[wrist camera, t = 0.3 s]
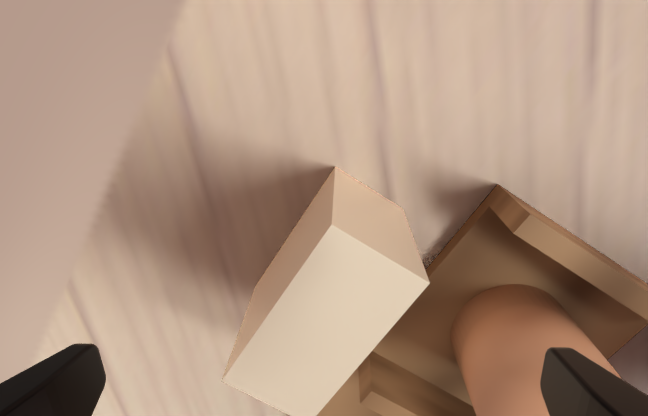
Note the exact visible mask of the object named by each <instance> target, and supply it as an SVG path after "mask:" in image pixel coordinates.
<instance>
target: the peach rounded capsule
mask: <svg viewBox="0 0 648 416" xmlns="http://www.w3.org/2000/svg"><path fill="white" fill-rule="evenodd" d="M450 341H451V346H452V349H453V352H454V355H455V357H456V360H457V363H458V366H459V369H460V371H461V374H462V377H463V380H464V383H465V385H466V388H467V391H468V394H469V397H470V399H471V402H472V405H473V408H474V411H475V413H476V416H550V415H549V413H548V410H547V407H546V404H545V401H544V398H543V396H542V392H541V387H540V380H541V374H542V369H543V363H544V358H545V354H546V351H547V349H549V348H551V347H569V348H572V349H574V350H576V351H578V352H579V353H581V354H582V355H584V356H586V357H587V358H589V359H590V360H592V361H593V362H595V363H597V364H598V365H600V366H601V367H603V368H605V369H606V370H608V371H609V372H611V373H613V374H614V375H616V376H617V377H619V378H621V377H620V376H619V374H618V373H617V372H616V370H615V369H614V368H613V367H612V366H611V364H610V363H609V362H608V361H607V360H606V358H605V357H604V356H603V355H602V354H601V352H600V351H599V350H598V349H597V348H596V346H595V345H594V344H593V343H592V342H591V340H590V339H589V338H588V337H587V336H586V334H585V333H584V332H583V331H582V330H581V328H580V327H579V326H578V325H577V324H576V322H575V321H574V320H573V319H572V318H571V316H570V315H569V314H568V313H567V312H566V310H565V309H564V308H563V307H562V306H561V304H560V303H559V302H558V301H557V300H556V299H555V298H554V297H553V296H552V295H550V294H549V293H548V292H546V291H544V290H542V289H539V288H537V287H534V286H529V285H523V284H509V285H502V286H497V287H494V288H491V289H488V290H486V291H483V292H481V293H480V294H478V295H476V296H474V297H473V298H472V299H470V300H469V301H468V302H467V303H466V304H465V305H464V306H463V307H462V308H461V309H460V311H459V312H458V313H457V315H456V317H455V319H454V321H453V323H452V327H451V333H450Z"/></svg>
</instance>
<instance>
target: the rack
mask: <svg viewBox="0 0 648 416" xmlns="http://www.w3.org/2000/svg"><path fill="white" fill-rule="evenodd" d="M425 271H426V274H427V276H428V279H429V282H430V284H429V285H428V286H427V287H426V288H425V290H424V291H423V292H422V293H421V294H420V295H419V297H418V298H417V299H416V300H415V301H414V302H413V304H412V305H411V306H410V307H409V308H408V309H407V311H406V312H405V313H404V314H403V315H402V316H401V318H400V319H399V320H398V321H397V322H396V323H395V325H394V326H393V327H392V328H391V329H390V330H389V332H388V333H387V334H386V335H385V336H384V337H383V339H382V340H381V341H380V342H379V343H378V344H377V346H376V347H375V348H374V349H373V350H372V351H371V353H370V354H369V355H368V356H367V357H366V358H365V360H364V361H363V362H362V363H361V364H360V365H359V367H358V368H357V369H356V370H355V371H354V372H353V374H352V375H351V376H350V377H349V378H348V379H347V381H346V382H345V383H344V384H343V385H342V386H341V388H340V389H339V390H338V391H337V392H336V393H335V395H334V396H333V397H332V398H331V399H330V400H329V402H328V403H327V404H326V405H325V406H324V407H323V409H322V410H321V411H320V412H319V413H318V414H317V416H476V413H475V411H474V408H473V405H472V402H471V399H470V397H469V394H468V391H467V388H466V385H465V383H464V380H463V377H462V374H461V371H460V369H459V366H458V363H457V360H456V357H455V355H454V352H453V349H452V346H451V341H450V333H451V327H452V323H453V321H454V319H455V317H456V315H457V313H458V312H459V311H460V309H461V308H462V307H463V306H464V305H465V304H466V303H467V302H468V301H469V300H470V299H472V298H473V297H474V296H476V295H478V294H480V293H481V292H483V291H486V290H488V289H491V288H494V287H497V286H502V285H509V284H523V285H529V286H534V287H537V288H539V289H542V290H544V291H546V292H548V293H549V294H550V295H552V296H553V297H554V298H555V299H556V300H557V301H558V302H559V303H560V304H561V306H562V307H563V308H564V309H565V310H566V312H567V313H568V314H569V315H570V316H571V318H572V319H573V320H574V321H575V322H576V324H577V325H578V326H579V327H580V328H581V330H582V331H583V332H584V333H585V334H586V336H587V337H588V338H589V339H590V340H591V342H592V343H593V344H594V345H595V346H596V348H597V349H598V350H599V351H600V352H601V354H602V355H603V356H604V357H605V358H606V360H608V359H609V358H610V357H611V356H612V355H613V354H614V353H616V352H617V351H618V350H619V349H620V348H621V347H623V346H624V345H625V344H626V343H627V342H628V341H629V340H631V339H632V338H633V337H634V336H635V335H636V334H637V333H639V332H640V331H641V330H642V329H643V328H644V327H645V326H647V325H648V284H647V283H645V282H644V281H642V280H641V279H639V278H638V277H636V276H635V275H633V274H632V273H630V272H629V271H627V270H626V269H624V268H623V267H621V266H620V265H618V264H617V263H615V262H614V261H612V260H611V259H609V258H608V257H606V256H605V255H603V254H602V253H600V252H599V251H597V250H596V249H594V248H593V247H591V246H590V245H588V244H587V243H585V242H584V241H582V240H581V239H579V238H578V237H576V236H575V235H573V234H572V233H570V232H569V231H567V230H566V229H564V228H563V227H561V226H560V225H558V224H557V223H555V222H554V221H552V220H551V219H549V218H548V217H546V216H545V215H543V214H542V213H540V212H539V211H537V210H536V209H534V208H533V207H531V206H530V205H528V204H527V203H525V202H524V201H522V200H521V199H519V198H518V197H516V196H515V195H513V194H512V193H510V192H509V191H507V190H506V189H504V188H503V187H501V186H500V185H498V184H497V186H496V187H495V188H494V189H493V190H492V191H491V193H490V194H489V195H488V196H487V197H486V199H485V200H484V201H483V202H482V203H481V205H480V206H479V207H478V208H477V209H476V211H475V212H474V213H473V214H472V215H471V216H470V218H469V219H468V220H467V221H466V222H465V224H464V225H463V226H462V227H461V228H460V230H459V231H458V232H457V233H456V234H455V236H454V237H453V238H452V239H451V240H450V241H449V243H448V244H447V245H446V246H445V247H444V249H443V250H442V251H441V252H440V253H439V255H438V256H437V257H436V258H435V259H434V261H433V262H432V263H431V264H430V265H429V266H428V268H427V269H426V270H425Z"/></svg>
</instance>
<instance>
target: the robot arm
mask: <svg viewBox="0 0 648 416" xmlns="http://www.w3.org/2000/svg"><path fill="white" fill-rule="evenodd" d="M105 381H106V375H105V371H104V367H103V364H102V360H101V357H100V353H99V350H98V348H97V346H96V345H94V344H73V345H71V346H69V347H67V348H66V349H64V350H62V351H60V352H58V353H56V354H54V355H53V356H51V357H49V358H47V359H45V360H43V361H41V362H40V363H38V364H36V365H34V366H32V367H30V368H28V369H27V370H25V371H23V372H21V373H19V374H17V375H15V376H14V377H12V378H10V379H8V380H6V381H4V382H2V383H1V384H0V416H92V414H93V411H94V409H95V407H96V405H97V402H98V400H99V398H100V396H101V393H102V391H103V389H104V386H105ZM540 387H541V392H542V396H543V398H544V401H545V404H546V407H547V410H548V413H549V415H550V416H648V395H646V394H645V393H643V392H641V391H640V390H638V389H637V388H635V387H633V386H632V385H630V384H629V383H627V382H625V381H624V380H622V379H621V378H619V377H617V376H616V375H614V374H613V373H611V372H609V371H608V370H606V369H605V368H603V367H601V366H600V365H598V364H597V363H595V362H593V361H592V360H590V359H589V358H587V357H586V356H584V355H582V354H581V353H579V352H578V351H576V350H574V349H572V348H569V347H551V348H549V349H547V351H546V354H545V358H544V363H543V369H542V374H541V380H540Z"/></svg>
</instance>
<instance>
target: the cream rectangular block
mask: <svg viewBox="0 0 648 416" xmlns="http://www.w3.org/2000/svg"><path fill="white" fill-rule="evenodd" d="M429 284H430V282H429V279H428V276H427V274H426V271H425V268H424V265H423V262H422V260H421V257H420V254H419V251H418V249H417V246H416V243H415V240H414V238H413V235H412V232H411V229H410V227H409V224H408V221H407V218H406V215H405V213H404V210H403V208H401V207H400V206H398V205H396V204H395V203H393V202H392V201H390V200H388V199H387V198H385V197H384V196H382V195H380V194H379V193H377V192H376V191H374V190H372V189H371V188H369V187H368V186H366V185H364V184H363V183H361V182H360V181H358V180H356V179H355V178H353V177H352V176H350V175H348V174H347V173H345V172H344V171H342V170H340V169H339V168H337V167H336V166H335V167H334V169H333V170H332V172H331V173H330V175H329V176H328V178H327V179H326V181H325V182H324V184H323V185H322V187H321V188H320V190H319V191H318V193H317V194H316V196H315V197H314V199H313V200H312V202H311V203H310V205H309V206H308V208H307V209H306V211H305V212H304V214H303V215H302V217H301V218H300V220H299V221H298V223H297V224H296V226H295V227H294V229H293V230H292V232H291V233H290V235H289V236H288V238H287V239H286V241H285V242H284V244H283V245H282V247H281V248H280V250H279V251H278V253H277V254H276V256H275V257H274V259H273V260H272V262H271V263H270V265H269V266H268V268H267V269H266V271H265V272H264V274H263V275H262V277H261V278H260V280H259V281H258V283H257V284H256V286H255V289H254V291H253V294H252V297H251V300H250V303H249V305H248V308H247V311H246V314H245V317H244V319H243V322H242V325H241V328H240V330H239V333H238V336H237V339H236V342H235V344H234V347H233V350H232V353H231V355H230V358H229V361H228V364H227V367H226V369H225V372H224V375H223V378H222V380H221V382H223V383H225V384H227V385H229V386H231V387H233V388H235V389H237V390H239V391H241V392H243V393H245V394H247V395H249V396H251V397H253V398H255V399H257V400H259V401H261V402H263V403H265V404H267V405H269V406H271V407H273V408H275V409H277V410H279V411H281V412H283V413H285V414H287V415H289V416H317V414H318V413H319V412H320V411H321V410H322V409H323V407H324V406H325V405H326V404H327V403H328V402H329V400H330V399H331V398H332V397H333V396H334V395H335V393H336V392H337V391H338V390H339V389H340V388H341V386H342V385H343V384H344V383H345V382H346V381H347V379H348V378H349V377H350V376H351V375H352V374H353V372H354V371H355V370H356V369H357V368H358V367H359V365H360V364H361V363H362V362H363V361H364V360H365V358H366V357H367V356H368V355H369V354H370V353H371V351H372V350H373V349H374V348H375V347H376V346H377V344H378V343H379V342H380V341H381V340H382V339H383V337H384V336H385V335H386V334H387V333H388V332H389V330H390V329H391V328H392V327H393V326H394V325H395V323H396V322H397V321H398V320H399V319H400V318H401V316H402V315H403V314H404V313H405V312H406V311H407V309H408V308H409V307H410V306H411V305H412V304H413V302H414V301H415V300H416V299H417V298H418V297H419V295H420V294H421V293H422V292H423V291H424V290H425V288H426V287H427V286H428V285H429Z"/></svg>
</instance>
